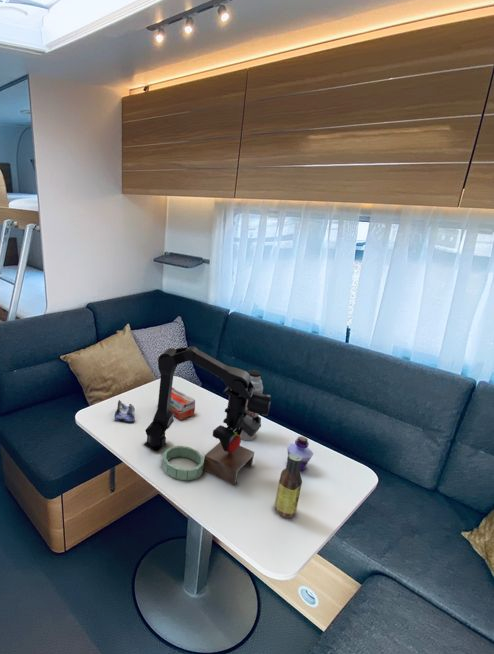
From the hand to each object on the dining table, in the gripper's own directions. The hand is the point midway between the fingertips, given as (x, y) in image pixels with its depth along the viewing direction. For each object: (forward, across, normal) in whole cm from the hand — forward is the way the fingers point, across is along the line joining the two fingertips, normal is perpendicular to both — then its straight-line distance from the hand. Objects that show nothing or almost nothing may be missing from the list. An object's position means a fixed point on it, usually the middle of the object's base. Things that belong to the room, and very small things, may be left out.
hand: (230, 446), depth 143 cm
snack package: (+9, +1, +49) cm, 50 cm away
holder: (+9, -11, +12) cm, 19 cm away
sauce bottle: (+9, -7, -23) cm, 26 cm away
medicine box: (+9, +20, +36) cm, 42 cm away
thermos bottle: (+9, +24, +5) cm, 26 cm away
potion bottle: (+9, +18, -18) cm, 27 cm away
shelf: (+9, 0, 0) cm, 9 cm away
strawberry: (+3, 0, 0) cm, 3 cm away
